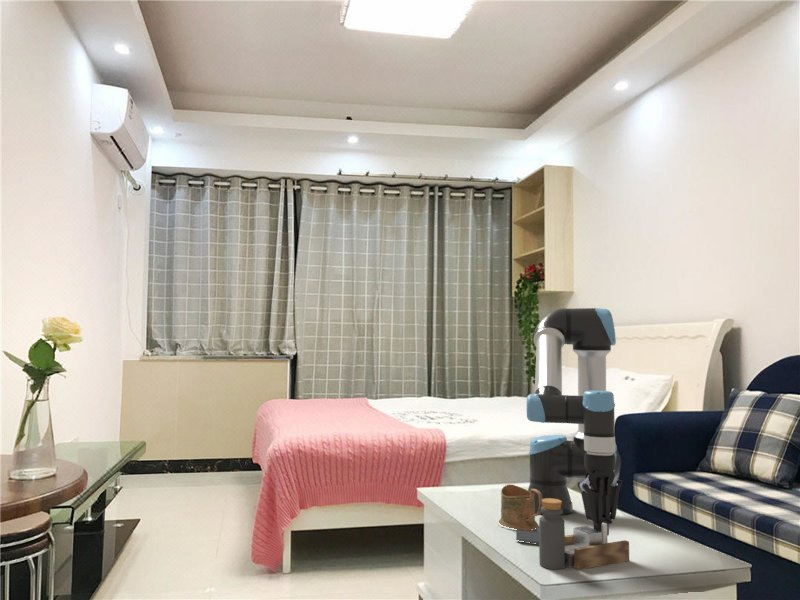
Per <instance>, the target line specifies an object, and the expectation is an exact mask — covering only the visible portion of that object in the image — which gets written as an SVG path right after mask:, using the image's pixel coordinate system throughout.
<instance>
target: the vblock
mask: <svg viewBox="0 0 800 600" xmlns="http://www.w3.org/2000/svg"><path fill="white" fill-rule="evenodd" d="M515 533H516V534H515V537H516V538H515V540H519V541H524V542H530V543H536V544H535V545H538V544H539V526H538V528H537V530H522V529H517V530H516V531H515Z"/></svg>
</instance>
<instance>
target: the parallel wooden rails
mask: <svg viewBox="0 0 800 600" xmlns="http://www.w3.org/2000/svg"><path fill="white" fill-rule="evenodd" d="M573 544H574V533H573V534H568V535H567V534H565V546H567V545H573ZM629 561H630V541H628V540H625V539H624V540H619V541H612V542H608V543H605V544H598V545H592V546H585V547H579V548H574V567H573V568H574V569H576V570H583V569H589V568H594V567H595V568H596V567H601V566H606V565H607V566H608V565H612V564H618V563H623V562H629Z"/></svg>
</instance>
